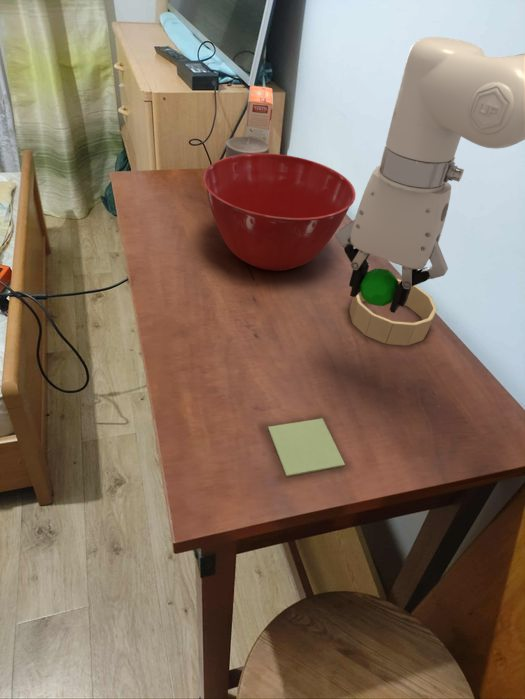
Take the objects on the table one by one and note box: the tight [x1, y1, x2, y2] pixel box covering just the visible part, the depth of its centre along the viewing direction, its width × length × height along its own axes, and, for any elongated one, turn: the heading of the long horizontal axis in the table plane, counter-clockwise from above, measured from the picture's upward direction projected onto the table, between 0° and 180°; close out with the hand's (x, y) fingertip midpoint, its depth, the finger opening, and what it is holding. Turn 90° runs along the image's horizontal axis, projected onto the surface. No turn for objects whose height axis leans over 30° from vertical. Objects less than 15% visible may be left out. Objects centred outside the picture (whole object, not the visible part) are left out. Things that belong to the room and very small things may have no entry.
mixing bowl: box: [202, 152, 356, 272], centre depth 100 cm, size 28×28×16 cm
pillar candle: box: [225, 136, 270, 158], centre depth 117 cm, size 10×10×15 cm
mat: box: [267, 417, 346, 478], centre depth 67 cm, size 8×8×1 cm
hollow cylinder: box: [349, 278, 438, 347], centre depth 90 cm, size 14×14×4 cm
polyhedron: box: [360, 268, 399, 307], centre depth 68 cm, size 5×5×5 cm
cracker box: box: [244, 85, 274, 145], centre depth 126 cm, size 14×6×21 cm, turn 179°
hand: (375, 298), depth 69 cm, fingers closed on polyhedron, 5 cm apart
